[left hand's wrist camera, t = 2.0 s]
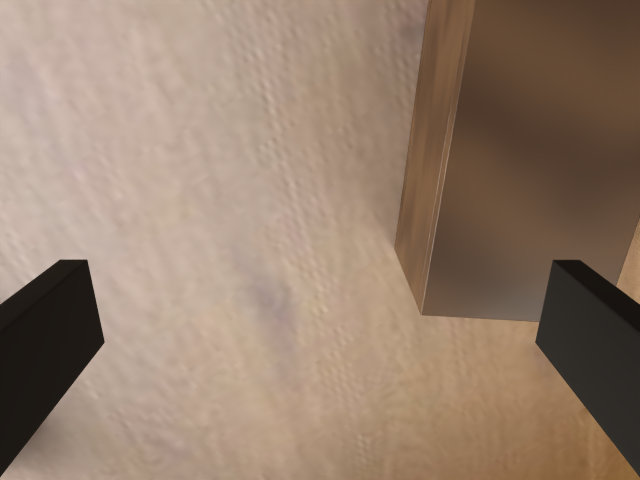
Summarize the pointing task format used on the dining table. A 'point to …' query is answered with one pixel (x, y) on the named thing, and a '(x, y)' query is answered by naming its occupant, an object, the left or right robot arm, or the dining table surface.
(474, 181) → the cabinet
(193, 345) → the dining table surface
